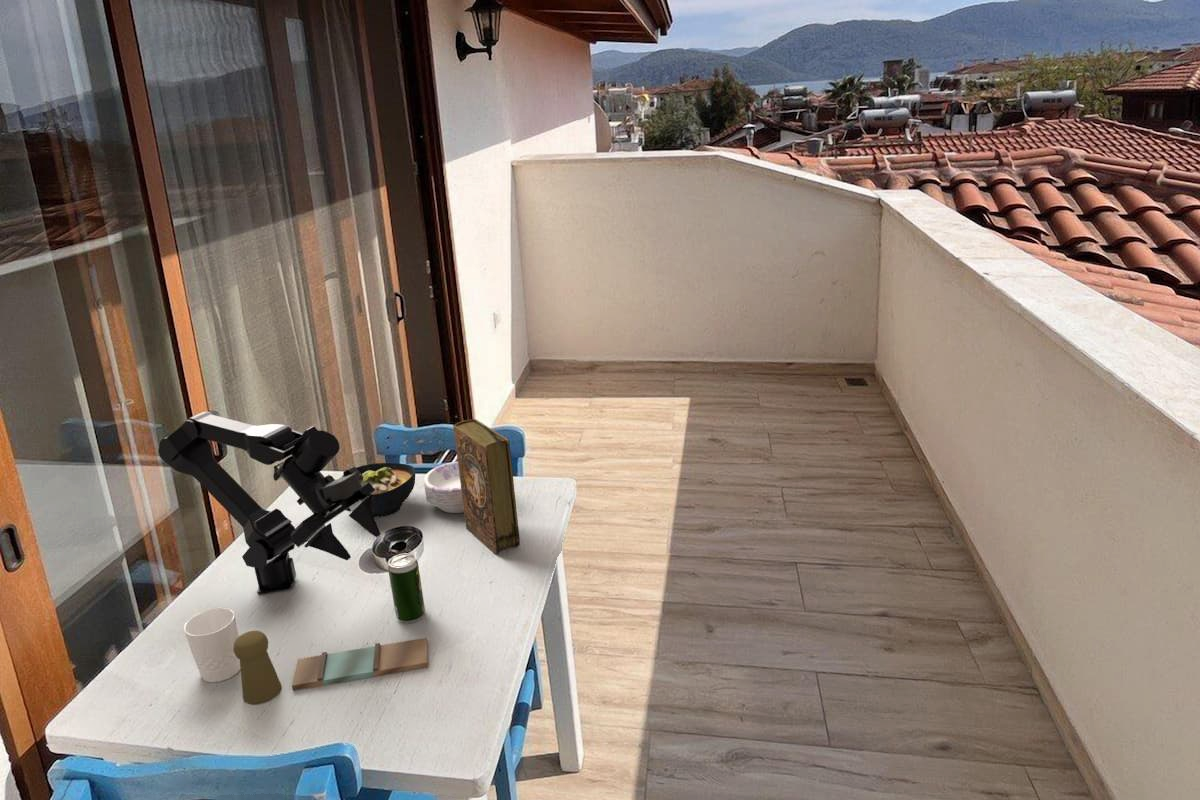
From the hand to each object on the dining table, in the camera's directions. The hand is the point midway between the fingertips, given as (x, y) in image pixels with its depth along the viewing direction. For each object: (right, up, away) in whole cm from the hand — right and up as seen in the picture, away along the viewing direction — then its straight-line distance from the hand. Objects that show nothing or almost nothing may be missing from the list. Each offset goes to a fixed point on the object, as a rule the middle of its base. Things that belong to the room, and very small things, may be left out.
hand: (364, 547), depth 152 cm
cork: (-12, -21, -17) cm, 30 cm away
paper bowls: (+10, +2, +43) cm, 44 cm away
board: (+3, -18, -12) cm, 22 cm away
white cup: (-21, -19, -11) cm, 31 cm away
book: (+20, -3, +27) cm, 34 cm away
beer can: (+8, -13, +1) cm, 16 cm away
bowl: (-8, +1, +42) cm, 43 cm away
